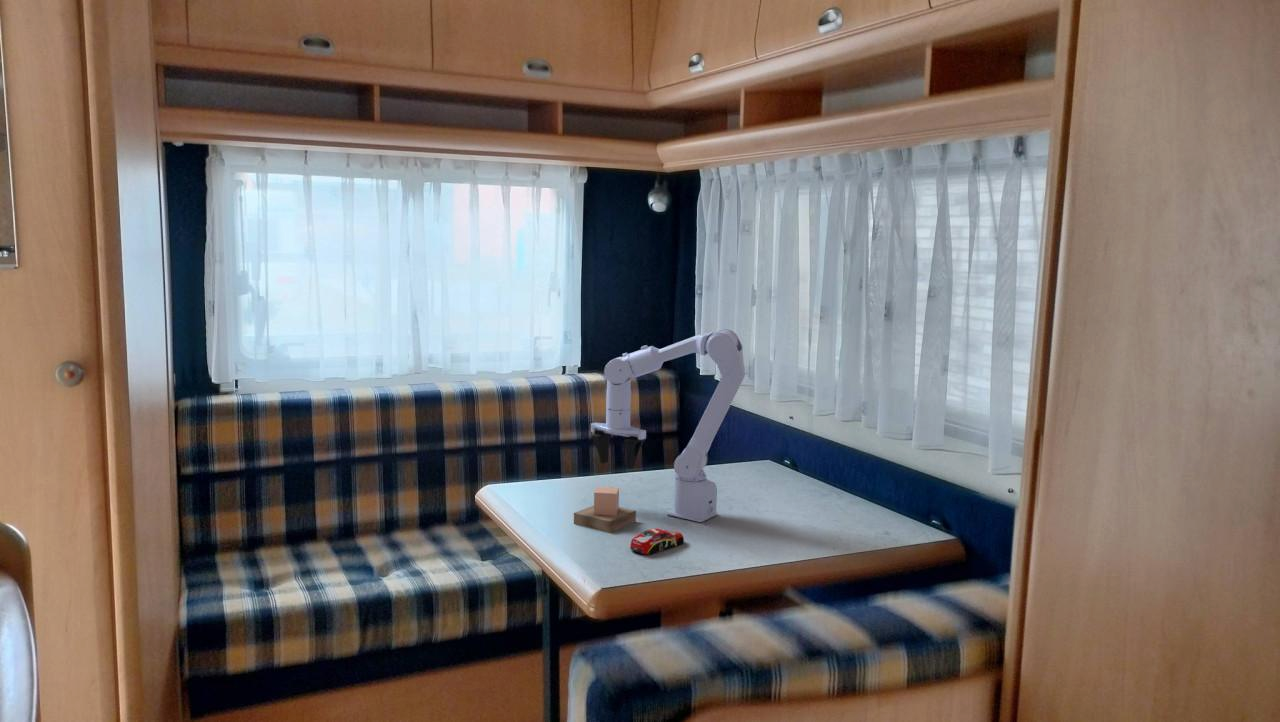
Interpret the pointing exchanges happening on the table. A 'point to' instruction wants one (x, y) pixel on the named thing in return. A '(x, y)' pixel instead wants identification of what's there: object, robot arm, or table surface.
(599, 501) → the terracotta cube
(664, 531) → the race car
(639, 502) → the table surface
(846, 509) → the table surface
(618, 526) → the walnut base block
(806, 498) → the table surface
